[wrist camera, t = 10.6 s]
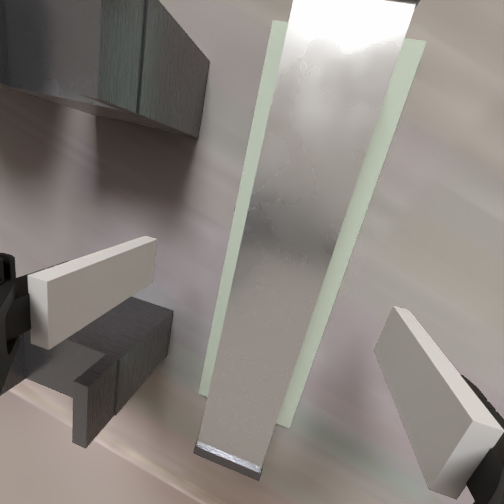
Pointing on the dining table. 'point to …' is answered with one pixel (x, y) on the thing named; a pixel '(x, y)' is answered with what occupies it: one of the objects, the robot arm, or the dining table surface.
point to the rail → (297, 211)
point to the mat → (352, 220)
